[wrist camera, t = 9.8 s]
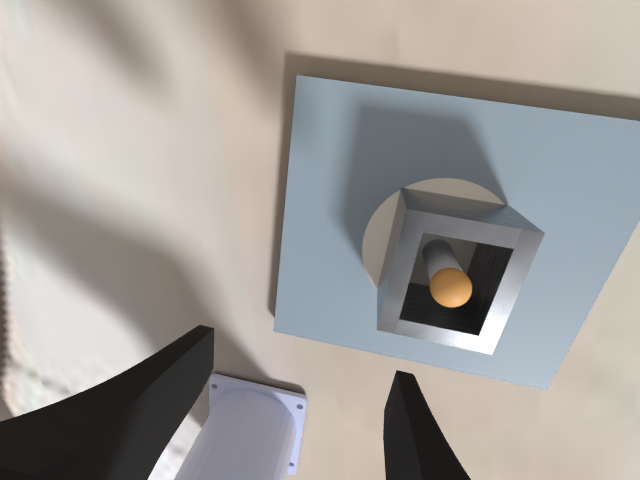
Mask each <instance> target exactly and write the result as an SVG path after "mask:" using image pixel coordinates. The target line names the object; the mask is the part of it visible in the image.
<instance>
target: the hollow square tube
mask: <svg viewBox="0 0 640 480" xmlns="http://www.w3.org/2000/svg"><path fill="white" fill-rule="evenodd" d="M423 233H429V234H434V235H440V236H445V237H451V238H456V239H462V240H467V241H473V242H478V243H477V246H476V249H475V252H474V254H473V257H472V260H471V263H470V266H469V269H468V271H467V274H466V275H467V276H468V277H469V279H470V281H471V284H472V293H471V296H470V298H469V299H468V301H467V302H466V303H464V304H463V305H461V306H458V307H446V306H443V305H441V304H439V303H438V302H437V301H436V300H435V299H434V298H433V296H432V294H431V292H430V286H426V285H421V284H416V283H411V282H409V281H410V277H411V273H412V270H413V266H414V263H415V259H416V255H417V252H418V248H419V245H420V241H421V237H422V234H423ZM544 235H545V233H544V232H543V231H542V230H540V229H539V228H538V227H536V226H535V225H534V224H533V223H531V222H530V221H529V220H528V219H526V218H525V217H524V216H522V215H521V214H520V213H519V212H517V211H516V210H515V209H513V208H512V207H511V206H509V205H503V204H497V203H491V202H485V201H479V200H473V199H467V198H461V197H455V196H450V195H444V194H438V193H432V192H426V191H420V190H414V189H408V188H402V187H401V190H400V194H399V198H398V203H397V207H396V211H395V215H394V220H393V224H392V228H391V232H390V237H389V241H388V245H387V250H386V254H385V258H384V262H383V267H382V271H381V275H380V279H379V284H378V288H377V330H378V331H383V332H388V333H392V334H397V335H402V336H407V337H411V338H416V339H421V340H425V341H430V342H435V343H440V344H444V345H449V346H454V347H458V348H463V349H468V350H473V351H477V352H482V353H487V354H491V355H492V354H493V351H494V349H495V347H496V344H497V342H498V340H499V338H500V335H501V333H502V331H503V328H504V326H505V324H506V322H507V319H508V317H509V315H510V312H511V310H512V308H513V305H514V303H515V301H516V299H517V296H518V294H519V292H520V289H521V287H522V285H523V283H524V280H525V278H526V276H527V273H528V271H529V269H530V267H531V264H532V262H533V260H534V257H535V255H536V253H537V251H538V248H539V246H540V244H541V241H542V239H543V237H544Z"/></svg>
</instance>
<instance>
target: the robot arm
mask: <svg viewBox="0 0 640 480" xmlns="http://www.w3.org/2000/svg"><path fill="white" fill-rule="evenodd" d="M213 357H214V328H211V327H206V326H202V325H199V326H197V327H196V328H194V329H192V330H191V331H189V332H188V333H186V334H185V335H183V336H182V337H180V338H179V339H177V340H176V341H174V342H173V343H171V344H169V345H168V346H166V347H165V348H163V349H162V350H160V351H158V352H157V353H155V354H154V355H152V356H150V357H149V358H147V359H145V360H144V361H142V362H140V363H138V364H137V365H135V366H133V367H131V368H130V369H128V370H126V371H124V372H123V373H121V374H119V375H117V376H115V377H113V378H111V379H109V380H107V381H105V382H103V383H101V384H98V385H96V386H94V387H92V388H90V389H88V390H85V391H83V392H80V393H78V394H76V395H73V396H71V397H69V398H66V399H64V400H61V401H59V402H56V403H54V404H51V405H48V406H46V407H43V408H40V409H38V410H35V411H32V412H29V413H26V414H23V415H20V416H17V417H14V418H11V419H8V420H4V421H1V422H0V480H147V479H148V477H149V476H150V474H151V472H152V470H153V468H154V466H155V464H156V462H157V461H158V459H159V457H160V455H161V454H162V452H163V451H164V449H165V447H166V446H167V444H168V443H169V441H170V439H171V438H172V436H173V435H174V433H175V432H176V430H177V429H178V427H179V426H180V424H181V423H182V421H183V420H184V418H185V417H186V415H187V414H188V412H189V410H190V409H191V407H192V406H193V404H194V403H195V401H196V400H197V398H198V396H199V395H200V393H201V392H202V390H203V388H204V386H205V384H206V382H207V380H208V378H209V376H210V374H211V372H212V369H213ZM299 404H300V405H299ZM306 406H307V397H306V396H305V395H303V394H300V393H296V392H292V391H287V390H283V389H279V388H275V387H270V386H266V385H262V384H257V383H253V382H249V381H245V380H240V379H236V378H232V377H227V376H223V375H219V374H212V375H211V376H210V378H209V416H208V418H207V420H206V422H205V423H204V425H203V427H202V429H201V431H200V433H199V434H198V436H197V438H196V440H195V442H194V444H193V445H192V447H191V449H190V451H189V453H188V455H187V456H186V458H185V460H184V462H183V464H182V466H181V467H180V469H179V471H178V473H177V475H176V477H175V478H174V480H285V479H286V475H294V474H295V473H296V470H297V464H298V457H299V451H300V445H301V438H302V432H303V425H304V419H305V413H306ZM383 440H384V456H385V471H386V480H471V479H470V478H469V476H468V475H467V473H466V472H465V470H464V469H463V467H462V465H461V464H460V462H459V461H458V459H457V457H456V456H455V454H454V452H453V451H452V449H451V447H450V446H449V444H448V442H447V441H446V439H445V437H444V435H443V433H442V432H441V430H440V428H439V426H438V424H437V422H436V420H435V418H434V417H433V415H432V413H431V411H430V409H429V407H428V405H427V402H426V400H425V398H424V396H423V394H422V392H421V390H420V387H419V385H418V383H417V381H416V378H415V376H414V375H413V374H411V373H406V372H402V371H398V370H396V374H395V377H394V380H393V383H392V387H391V390H390V393H389V396H388V400H387V403H386V406H385V410H384V435H383Z"/></svg>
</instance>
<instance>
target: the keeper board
mask: <svg viewBox="0 0 640 480" xmlns="http://www.w3.org/2000/svg"><path fill="white" fill-rule="evenodd" d="M401 187H402V188H408V189H414V190H420V191H426V192H432V193H438V194H444V195H450V196H455V197H461V198H467V199H473V200H479V201H485V202H491V203H497V204H503V205H509V206H511V207H512V208H513V209H515V210H516V211H517V212H519V213H520V214H521V215H522V216H524V217H525V218H526V219H528V220H529V221H530V222H531V223H533V224H534V225H535V226H536V227H538V228H539V229H540V230H542V231H543V232H544V233H545V235H544V237H543V239H542V241H541V244H540V246H539V248H538V251H537V253H536V255H535V257H534V260H533V262H532V264H531V267H530V269H529V271H528V273H527V276H526V278H525V280H524V283H523V285H522V287H521V289H520V292H519V294H518V296H517V299H516V301H515V303H514V305H513V308H512V310H511V312H510V315H509V317H508V319H507V322H506V324H505V326H504V328H503V331H502V333H501V335H500V338H499V340H498V342H497V344H496V347H495V349H494V351H493V354H492V355H491V354H487V353H482V352H477V351H473V350H468V349H463V348H458V347H454V346H449V345H444V344H440V343H435V342H430V341H425V340H421V339H416V338H411V337H407V336H402V335H397V334H392V333H388V332H383V331H378V330H377V288H378V284H379V279H380V275H381V271H382V267H383V262H384V258H385V254H386V250H387V245H388V241H389V237H390V232H391V228H392V224H393V220H394V215H395V211H396V207H397V203H398V198H399V194H400V190H401ZM639 220H640V121H635V120H628V119H621V118H613V117H606V116H598V115H591V114H583V113H576V112H569V111H561V110H554V109H546V108H539V107H531V106H524V105H517V104H509V103H502V102H494V101H487V100H479V99H472V98H465V97H457V96H450V95H442V94H435V93H427V92H420V91H413V90H405V89H398V88H390V87H383V86H376V85H368V84H361V83H353V82H346V81H338V80H331V79H324V78H316V77H309V76H301V75H297V76H296V87H295V98H294V109H293V120H292V131H291V143H290V154H289V165H288V176H287V187H286V198H285V209H284V221H283V232H282V243H281V254H280V265H279V276H278V287H277V298H276V310H275V321H274V332H279V333H283V334H288V335H293V336H297V337H302V338H306V339H311V340H316V341H320V342H325V343H330V344H334V345H339V346H343V347H348V348H353V349H357V350H362V351H367V352H371V353H376V354H380V355H385V356H390V357H394V358H399V359H404V360H408V361H413V362H417V363H422V364H427V365H431V366H436V367H441V368H445V369H450V370H454V371H459V372H464V373H468V374H473V375H477V376H482V377H487V378H491V379H496V380H501V381H505V382H510V383H514V384H519V385H524V386H528V387H533V388H538V389H542V390H547V389H548V387H549V385H550V383H551V381H552V380H553V378H554V376H555V374H556V372H557V370H558V369H559V367H560V365H561V363H562V361H563V359H564V358H565V356H566V354H567V352H568V350H569V348H570V347H571V345H572V343H573V341H574V339H575V337H576V336H577V334H578V332H579V330H580V328H581V327H582V325H583V323H584V321H585V319H586V317H587V316H588V314H589V312H590V310H591V308H592V306H593V305H594V303H595V301H596V299H597V297H598V295H599V294H600V292H601V290H602V288H603V286H604V284H605V283H606V281H607V279H608V277H609V275H610V273H611V272H612V270H613V268H614V266H615V264H616V262H617V261H618V259H619V257H620V255H621V253H622V251H623V250H624V248H625V246H626V244H627V242H628V240H629V239H630V237H631V235H632V233H633V231H634V229H635V228H636V226H637V224H638V222H639ZM477 243H478V242H473V241H467V240H462V239H456V238H451V237H445V236H440V235H434V234H429V233H423V234H422V237H421V241H420V245H419V248H418V252H417V255H416V259H415V263H414V266H413V270H412V273H411V277H410V281H409V282H411V283H416V284H421V285H426V286H430V292H431V294H432V296H433V298H434V299H435V300H436V301H437V302H438V303H439V304H441V305H443V306H446V307H458V306H461V305H463V304H464V303H466V302H467V301H468V299H469V298H470V296H471V293H472V284H471V281H470V279H469V277H468V276H467V275H466V274H467V271H468V269H469V266H470V263H471V260H472V257H473V254H474V252H475V249H476V246H477Z"/></svg>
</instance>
